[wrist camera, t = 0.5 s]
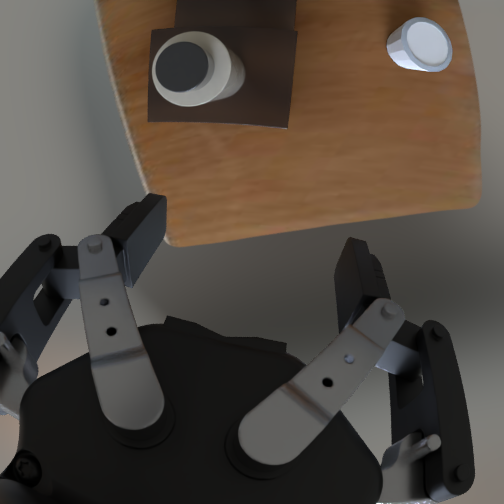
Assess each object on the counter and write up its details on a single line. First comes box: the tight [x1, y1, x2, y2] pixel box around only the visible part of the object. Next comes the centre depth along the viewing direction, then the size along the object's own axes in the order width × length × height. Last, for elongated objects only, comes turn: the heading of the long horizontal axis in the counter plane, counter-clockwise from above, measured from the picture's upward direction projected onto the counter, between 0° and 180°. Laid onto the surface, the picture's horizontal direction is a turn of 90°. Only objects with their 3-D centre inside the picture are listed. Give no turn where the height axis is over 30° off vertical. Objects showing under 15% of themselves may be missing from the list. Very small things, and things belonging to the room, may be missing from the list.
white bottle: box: [152, 31, 245, 106], centre depth 19 cm, size 5×5×12 cm
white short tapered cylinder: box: [387, 17, 452, 72], centre depth 25 cm, size 7×7×7 cm
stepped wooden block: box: [148, 0, 297, 129], centre depth 26 cm, size 22×14×10 cm, turn 176°
